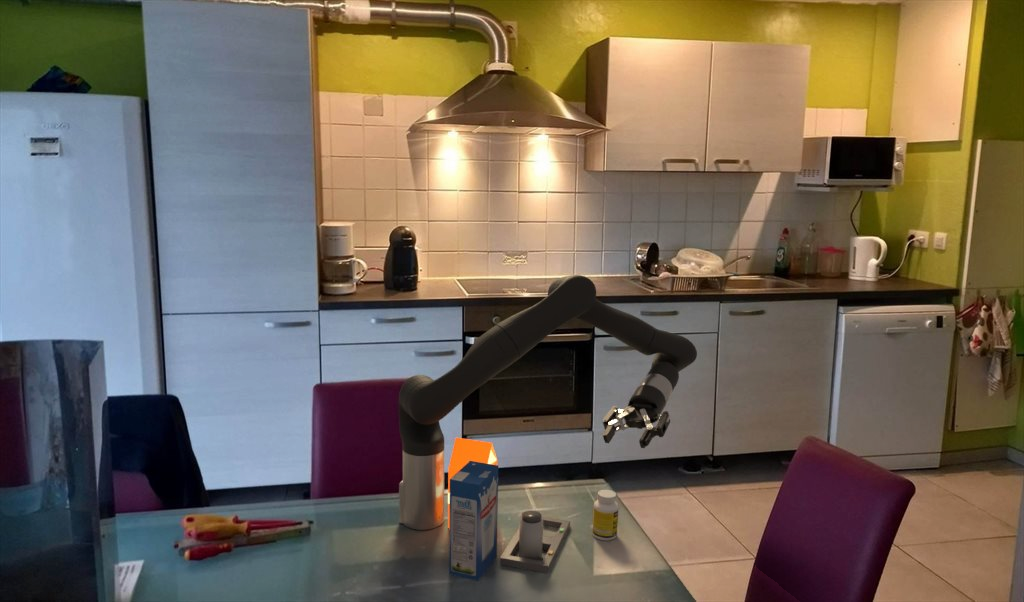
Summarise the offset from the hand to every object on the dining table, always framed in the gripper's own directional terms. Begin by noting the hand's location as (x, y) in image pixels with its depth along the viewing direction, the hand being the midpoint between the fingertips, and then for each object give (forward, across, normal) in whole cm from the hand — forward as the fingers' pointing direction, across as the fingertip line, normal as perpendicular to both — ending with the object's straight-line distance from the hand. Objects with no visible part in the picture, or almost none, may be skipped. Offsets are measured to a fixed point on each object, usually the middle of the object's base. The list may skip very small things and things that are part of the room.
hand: (623, 442), depth 161 cm
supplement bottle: (+10, -5, +18) cm, 22 cm away
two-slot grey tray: (+22, -14, +12) cm, 29 cm away
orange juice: (+22, -30, +10) cm, 39 cm away
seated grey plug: (+26, -13, +10) cm, 31 cm away
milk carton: (+35, -20, +6) cm, 41 cm away
